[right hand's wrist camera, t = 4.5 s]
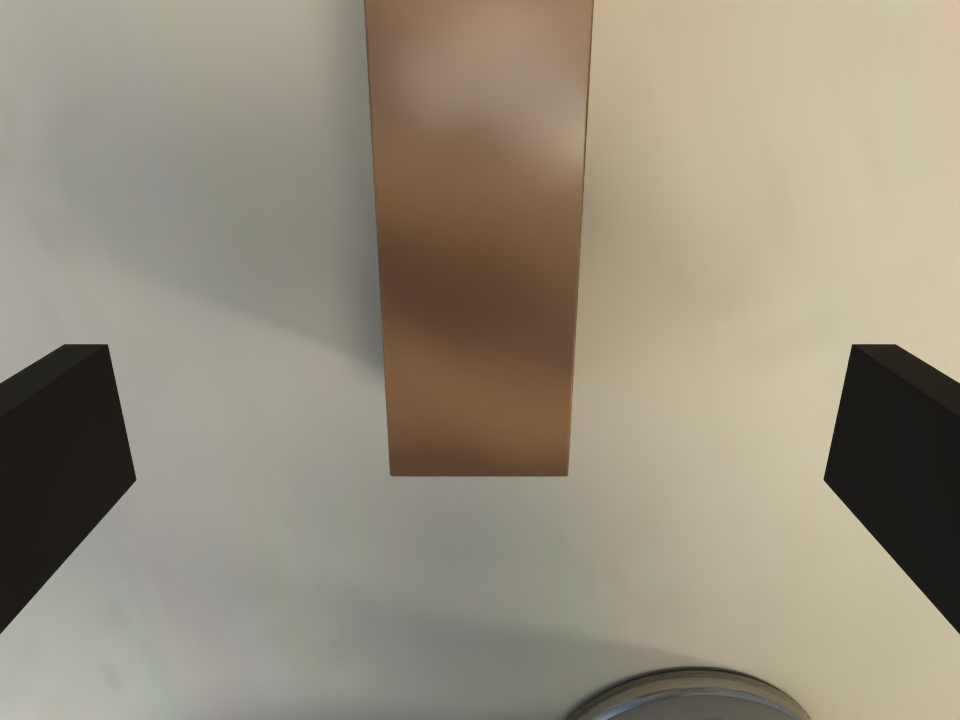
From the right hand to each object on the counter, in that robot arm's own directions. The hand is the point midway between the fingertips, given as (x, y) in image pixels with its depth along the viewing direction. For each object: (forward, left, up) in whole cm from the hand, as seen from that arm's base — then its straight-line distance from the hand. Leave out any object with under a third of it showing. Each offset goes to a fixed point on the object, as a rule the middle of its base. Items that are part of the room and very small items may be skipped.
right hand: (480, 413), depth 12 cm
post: (+15, -26, -15) cm, 33 cm away
